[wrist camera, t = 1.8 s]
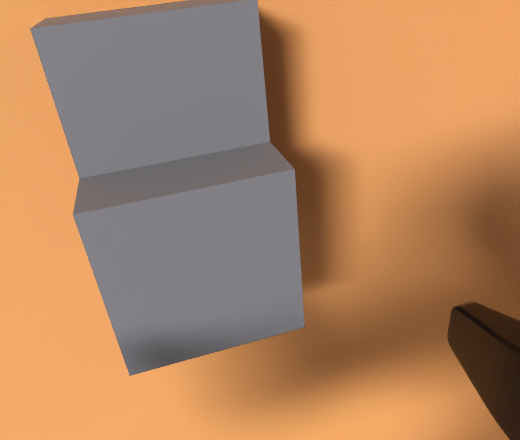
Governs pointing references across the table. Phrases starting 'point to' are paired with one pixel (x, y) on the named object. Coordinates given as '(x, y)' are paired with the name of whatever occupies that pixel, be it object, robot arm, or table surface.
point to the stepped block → (177, 175)
